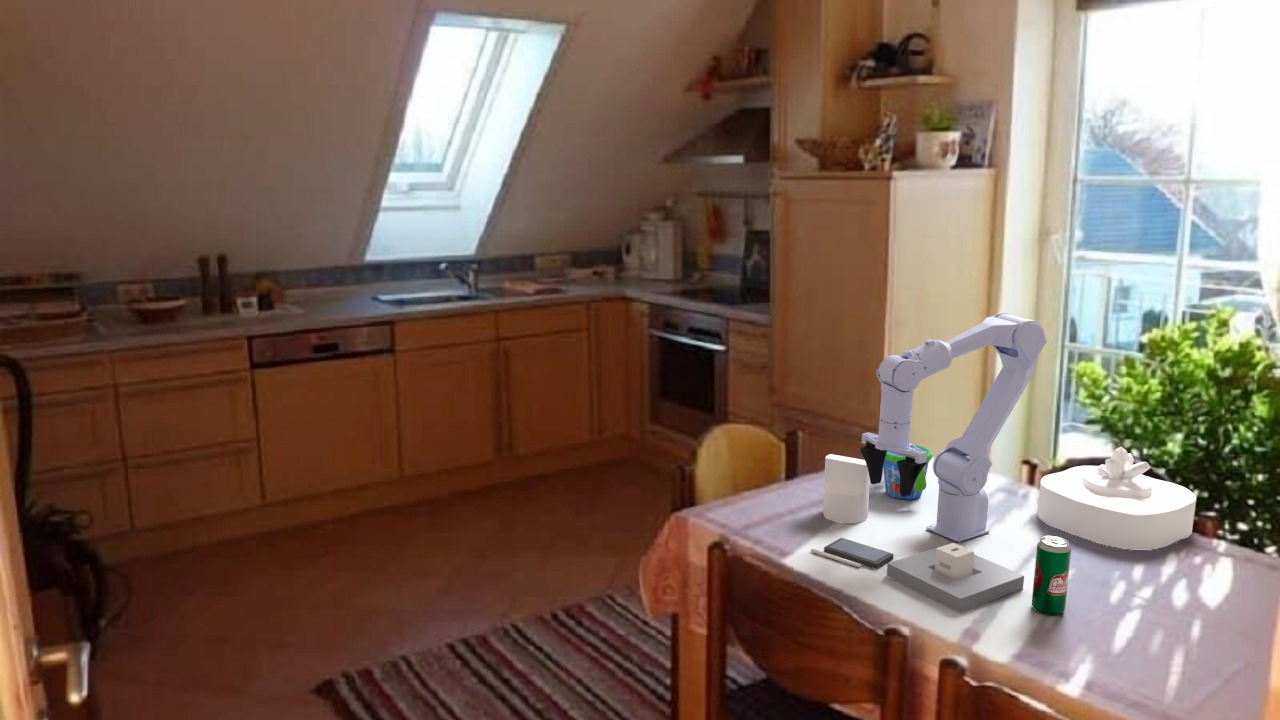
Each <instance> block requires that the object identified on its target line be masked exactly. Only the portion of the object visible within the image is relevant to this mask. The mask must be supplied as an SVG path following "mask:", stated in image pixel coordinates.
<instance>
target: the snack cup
mask: <svg viewBox="0 0 1280 720" xmlns="http://www.w3.org/2000/svg"><path fill="white" fill-rule="evenodd" d="M912 444H913V443H912ZM913 445H914V446H916V447H917V448H919V449H921V450H923V451H925V452H927V460H926V465H925V466H924V467H923V469H922V470H921V472H920V473H919V475H918V477H917V479H916V481H915V483H914V486H913V489H912V492H911V495H909V496H905V497H902V496H900V473H899V468H898V465H897V461H900V460H905V457H903V456H900V455H897V454H894V453H892V452H889V451H887V453H886V456H885V460H884V464H883V477H884V487H885V493H886V494H887V495H889V496H890V497H892V498H894V499H900V500H910V501H911V500H914V499H918V498H920V496H922V495H923V491H924V490H925V491H926V488H927V479H926V478H927V477H926V476H927V471H928V467H929V463H930V461H931V460H932V458H933V453H932V451H931V450H930V449H929V448H927V447H925V446H922V445H919V444H913Z"/></svg>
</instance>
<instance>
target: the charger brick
mask: <svg viewBox="0 0 1280 720" xmlns="http://www.w3.org/2000/svg"><path fill="white" fill-rule="evenodd" d="M944 545H945V546H944ZM944 545H942V547H941V546H938V547H939V548H938V547H935V548H936V559H935V571H937V572H939V573H942V574H944V575H946V576H948V577H950V578H952V579H954V580H957V581H958V580H961V579H964V578H966V577H969V576H972V571H973V558H974V554H975V551H974V550H972V549H969V548H968V547H964V546H963V545H960V544H958V543H956V542H951V543H948V545H947V544H944Z"/></svg>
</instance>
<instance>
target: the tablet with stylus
mask: <svg viewBox="0 0 1280 720" xmlns="http://www.w3.org/2000/svg"><path fill="white" fill-rule="evenodd" d="M810 552H811V553H814V554H815V555H819V556H822V557H825V558H829V559H831V560H835V561H837V562H840V563H844V564H846V565H848V566H849V565H850V566H852V567H855V568H858V569H860V568H862V566H865V567H868V568H870V569H874V570H878V569H880V568H881V567H883V566H884V565H886V564H887V563H890V562H892V561H893V560H894V553H892V552H889V551H886V550H882V549H879V548H876V547H872V546H870V545H867V544H863V543H859V542H856V541H853V540H850V539H847V538H844V537H840V538H838V539H836V540H835V541H833V542H831V543H829V544H827V545H825V546H823V551H821V550H818V549H815V548H811V549H810Z"/></svg>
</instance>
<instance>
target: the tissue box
mask: <svg viewBox="0 0 1280 720" xmlns="http://www.w3.org/2000/svg"><path fill="white" fill-rule="evenodd" d="M1134 461H1135V459H1134V457H1133V454H1132V453H1131V452H1130V453H1128V451H1127V450H1126V449H1125V448H1124V447H1123V446H1119V447H1117V448H1116V449H1114V452H1113V454H1112V456H1110V458H1107V459H1105V460H1104V462H1105V464H1104V463H1103V464H1100V465H1080V466H1079V465H1078V466H1073V467H1070V468H1068V469H1065V470H1063V471H1059V472H1053V473H1050V474H1046V475H1044V476H1043V477H1042V478H1041V479H1040V483H1039V485H1040V486H1039V495H1038V496H1039V497H1038V503H1037V504H1038V506H1037V518H1038V519H1039V520H1040V521H1042V522H1043V523H1044V522H1045V523H1044V524H1046V525H1048V526H1049V527H1051V528H1054V529H1056V528H1057V530H1059V529H1060V531H1063V532H1064V531H1065V532H1064V533H1067V532H1068V534H1070V535H1072V536H1075V535H1076V537H1078V536H1079V538H1081V537H1082V538H1081V539H1084V538H1085V539H1084V540H1086V539H1088V540H1087V541H1089V540H1091V541H1090V542H1092V541H1093V542H1092V543H1095V542H1096V543H1095V544H1098V543H1099V544H1098V545H1101V544H1103V545H1102V546H1104V545H1106V546H1105V547H1108V546H1112V547H1111V548H1113V547H1120V548H1127V549H1154V548H1158V547H1161V546H1165V545H1167V544H1169V543H1171V542H1174V541H1176V540H1178V539H1179V538H1182V537H1184V536H1187V535H1190V534H1191V535H1192V534H1193V526H1194V519H1195V512H1196V511H1195V510H1196V505H1197V504H1196V503H1197V496H1196V494H1194V493H1193V491H1191V490H1190V489H1188V488H1187V487H1185V486H1182V485H1179V484H1177V483H1175V482H1170V481H1166V480H1161V479H1157V478H1153V477H1151V476H1148V475H1147V476H1146V475H1144V473H1145V472H1147V471H1148V470H1149V469H1151V466H1150V465H1149V463H1148V462H1147V461H1140V462H1137V463H1135V464H1134Z"/></svg>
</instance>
